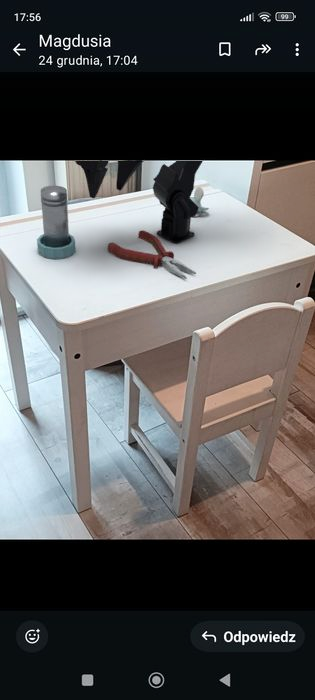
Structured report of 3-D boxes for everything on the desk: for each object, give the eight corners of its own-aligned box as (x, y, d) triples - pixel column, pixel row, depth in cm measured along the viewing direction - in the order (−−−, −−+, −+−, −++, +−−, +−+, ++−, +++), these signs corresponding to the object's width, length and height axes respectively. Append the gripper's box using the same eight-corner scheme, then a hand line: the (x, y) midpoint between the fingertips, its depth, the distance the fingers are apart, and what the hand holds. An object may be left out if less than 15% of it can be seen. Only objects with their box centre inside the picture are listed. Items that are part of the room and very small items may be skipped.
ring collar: (59, 238, 127) (58, 228, 125) (82, 251, 123) (82, 241, 121) (30, 249, 122) (29, 239, 121) (53, 262, 118) (52, 252, 117)
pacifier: (190, 220, 138) (211, 216, 140) (191, 196, 134) (213, 192, 136) (175, 208, 143) (195, 204, 145) (176, 184, 139) (197, 180, 141)
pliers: (171, 290, 113) (172, 279, 112) (104, 252, 124) (104, 242, 122) (208, 272, 120) (210, 261, 118) (142, 237, 130) (143, 227, 129)
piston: (53, 240, 125) (49, 183, 117) (74, 246, 123) (72, 189, 115) (39, 250, 121) (35, 192, 113) (61, 256, 119) (58, 198, 111)
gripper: (112, 100, 118) (101, 174, 127) (53, 105, 104) (45, 188, 112) (157, 116, 114) (142, 191, 123) (101, 123, 100) (89, 207, 109)
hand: (105, 193), depth 117 cm, fingers open, 9 cm apart
